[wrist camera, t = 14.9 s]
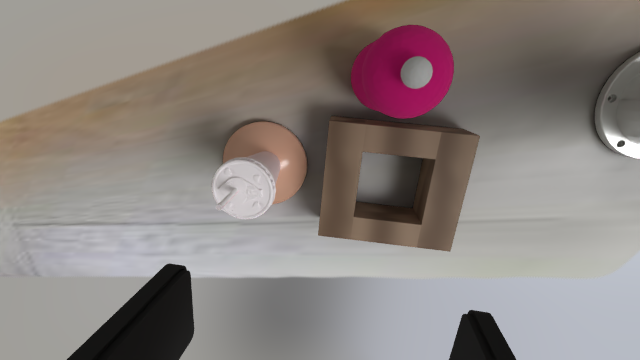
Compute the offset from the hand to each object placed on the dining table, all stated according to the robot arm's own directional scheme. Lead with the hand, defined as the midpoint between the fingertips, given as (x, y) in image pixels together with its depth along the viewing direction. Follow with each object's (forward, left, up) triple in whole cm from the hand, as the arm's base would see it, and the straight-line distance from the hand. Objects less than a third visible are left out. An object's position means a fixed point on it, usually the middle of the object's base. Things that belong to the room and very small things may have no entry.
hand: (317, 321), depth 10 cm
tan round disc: (+9, +3, -30) cm, 31 cm away
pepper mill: (-4, -9, -30) cm, 32 cm away
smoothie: (+9, +3, -29) cm, 31 cm away
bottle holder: (-7, +3, -30) cm, 31 cm away
